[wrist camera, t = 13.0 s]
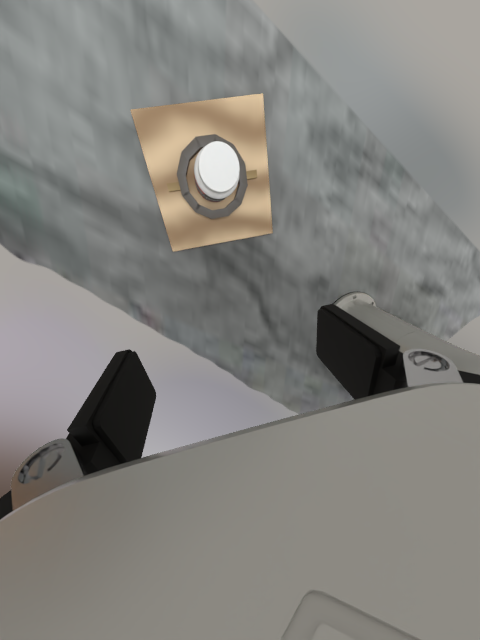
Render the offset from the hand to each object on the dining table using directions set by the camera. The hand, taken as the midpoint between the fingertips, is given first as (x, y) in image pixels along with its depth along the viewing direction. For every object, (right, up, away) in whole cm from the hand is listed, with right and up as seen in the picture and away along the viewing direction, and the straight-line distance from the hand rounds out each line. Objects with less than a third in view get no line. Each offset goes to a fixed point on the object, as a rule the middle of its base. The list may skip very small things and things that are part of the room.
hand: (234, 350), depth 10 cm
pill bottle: (-4, +23, +21) cm, 32 cm away
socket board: (-4, +24, +22) cm, 32 cm away
